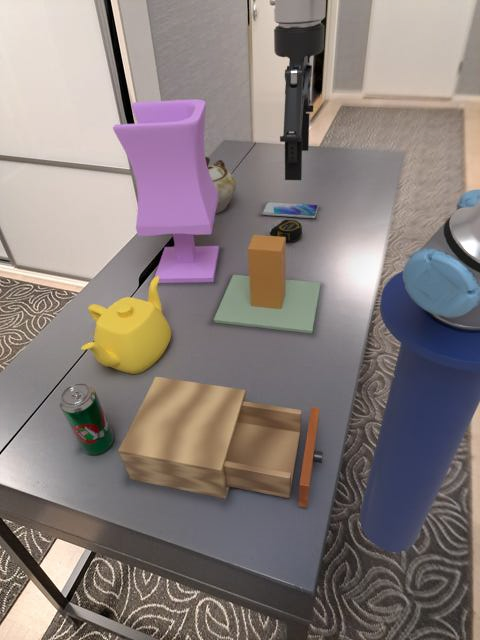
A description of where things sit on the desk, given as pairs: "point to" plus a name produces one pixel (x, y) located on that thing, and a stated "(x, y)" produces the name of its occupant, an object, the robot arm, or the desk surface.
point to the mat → (290, 318)
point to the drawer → (271, 451)
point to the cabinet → (183, 436)
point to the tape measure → (287, 230)
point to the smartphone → (290, 210)
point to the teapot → (130, 332)
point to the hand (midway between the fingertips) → (297, 164)
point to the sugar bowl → (222, 183)
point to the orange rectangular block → (267, 271)
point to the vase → (173, 184)
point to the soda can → (86, 418)
